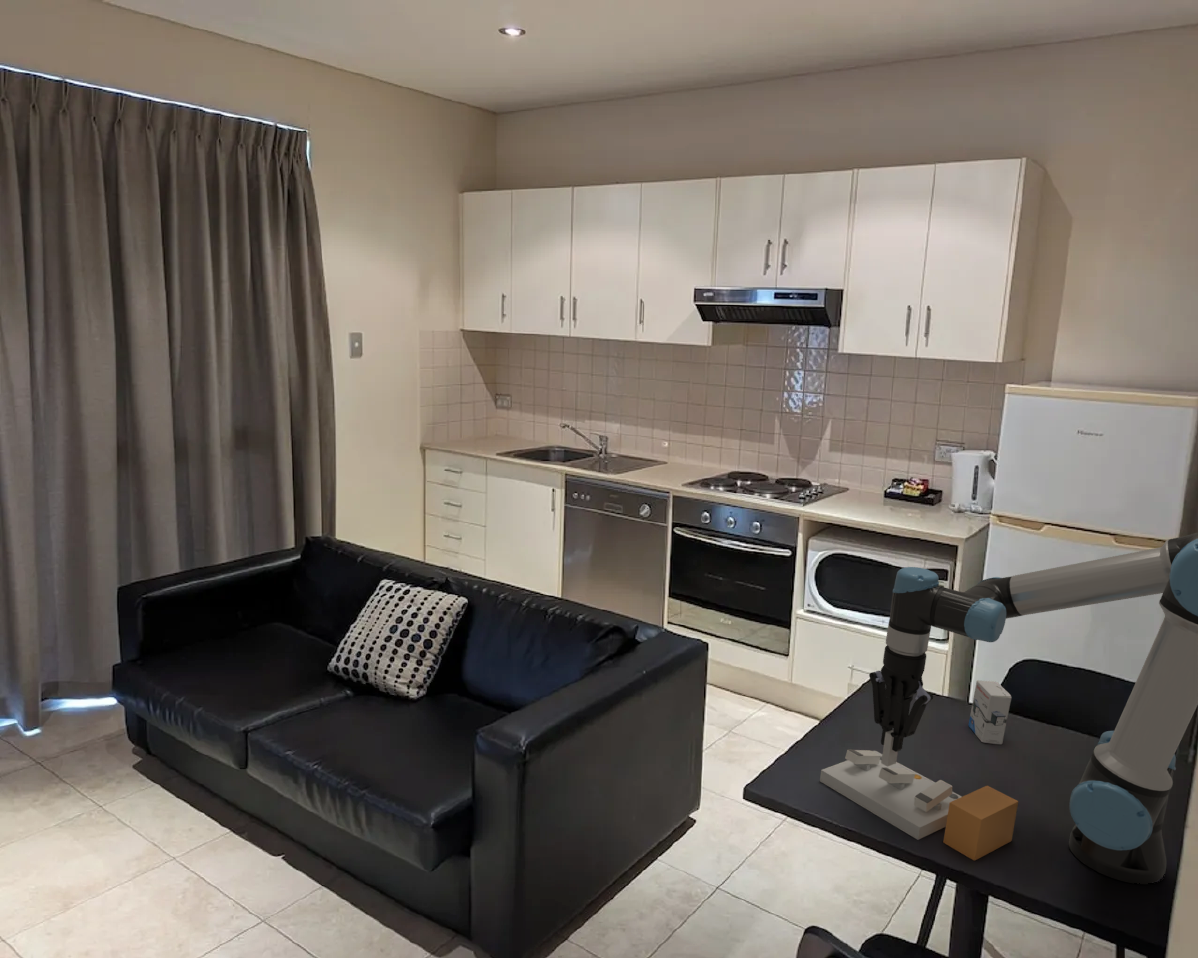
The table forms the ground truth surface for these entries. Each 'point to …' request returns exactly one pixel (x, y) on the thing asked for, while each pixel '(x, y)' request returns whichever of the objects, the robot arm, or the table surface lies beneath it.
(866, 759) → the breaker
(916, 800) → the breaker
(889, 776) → the block
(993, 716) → the ink box
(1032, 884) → the table surface
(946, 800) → the panel
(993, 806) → the brown block
